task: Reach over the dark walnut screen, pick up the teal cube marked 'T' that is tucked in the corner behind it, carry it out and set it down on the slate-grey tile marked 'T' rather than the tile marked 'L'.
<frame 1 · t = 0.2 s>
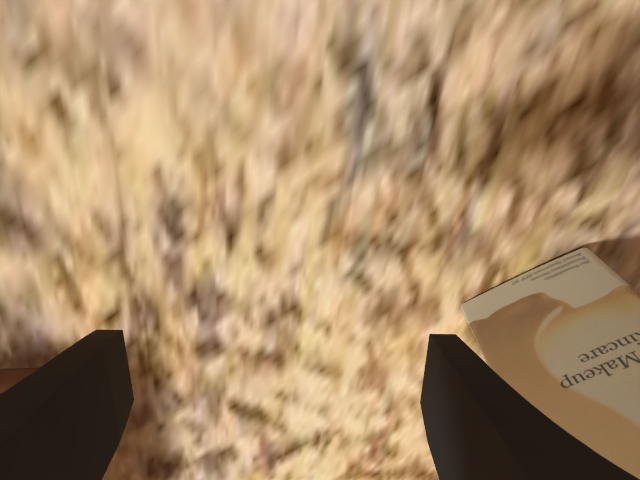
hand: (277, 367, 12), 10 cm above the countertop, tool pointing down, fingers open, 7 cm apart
skincare box: (530, 307, 23), on the countertop
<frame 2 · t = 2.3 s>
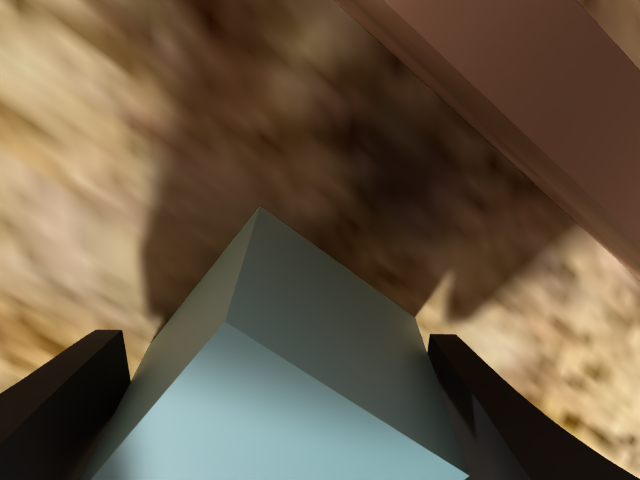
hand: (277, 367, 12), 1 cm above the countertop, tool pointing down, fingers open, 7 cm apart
walnut screen: (251, 311, 13), on the countertop
letter cube: (281, 328, 13), on the countertop, touching gripper
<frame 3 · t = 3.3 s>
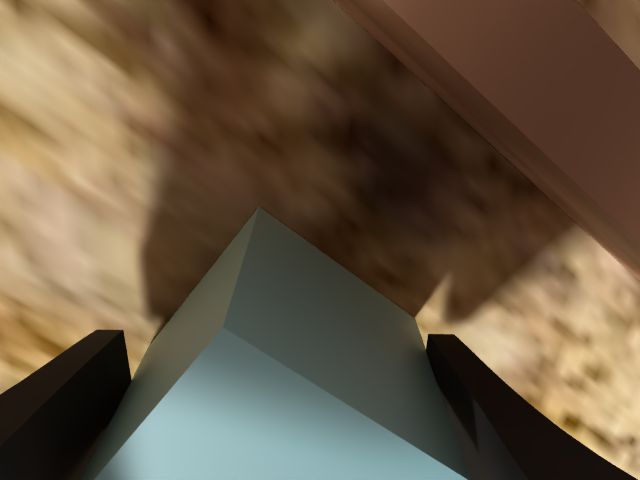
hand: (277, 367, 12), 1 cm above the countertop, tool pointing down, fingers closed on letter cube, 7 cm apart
walnut screen: (250, 312, 13), on the countertop
letter cube: (280, 332, 13), on the countertop, touching gripper
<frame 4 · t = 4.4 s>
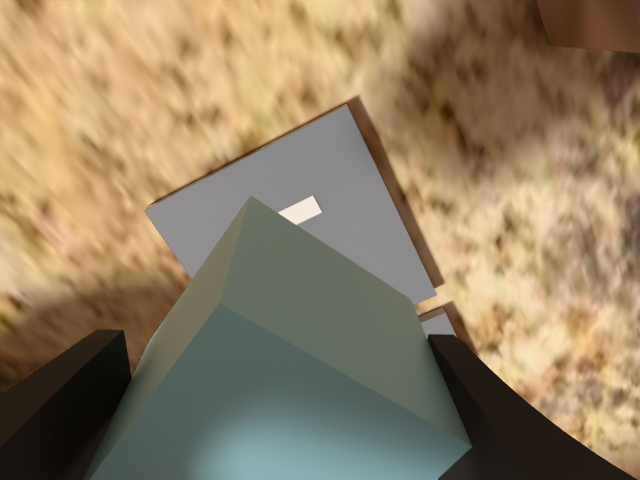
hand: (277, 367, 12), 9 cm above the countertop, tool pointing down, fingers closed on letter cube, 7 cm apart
letter cube: (279, 320, 13), point 8 cm above the countertop, touching gripper
tile T: (297, 249, 21), on the countertop
tile L: (391, 410, 24), on the countertop
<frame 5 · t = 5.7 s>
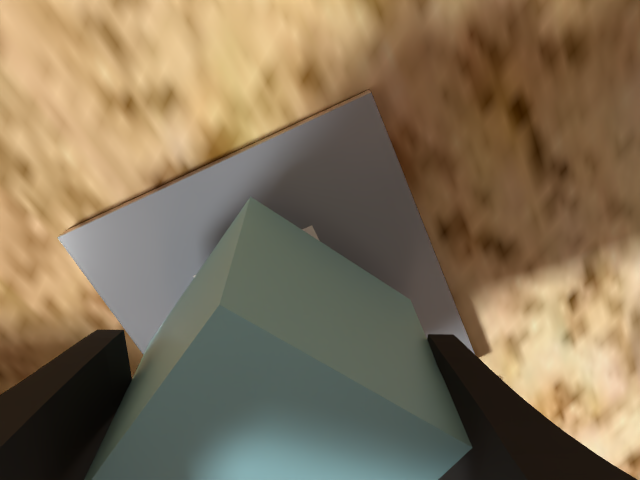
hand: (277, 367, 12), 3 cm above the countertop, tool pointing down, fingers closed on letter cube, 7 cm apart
letter cube: (279, 320, 13), point 1 cm above the countertop, touching gripper
tile T: (284, 299, 14), on the countertop
when the fingers open (3 cm above the countertop, at t = 6.5 s): letter cube stays where it is, resting on tile T.
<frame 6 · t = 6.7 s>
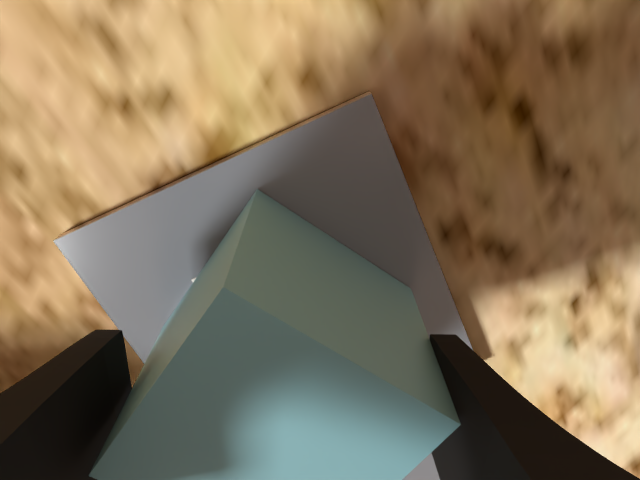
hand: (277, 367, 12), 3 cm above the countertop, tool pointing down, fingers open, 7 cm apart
letter cube: (285, 307, 14), point 1 cm above the countertop, touching gripper, tile T
tile T: (284, 303, 14), on the countertop
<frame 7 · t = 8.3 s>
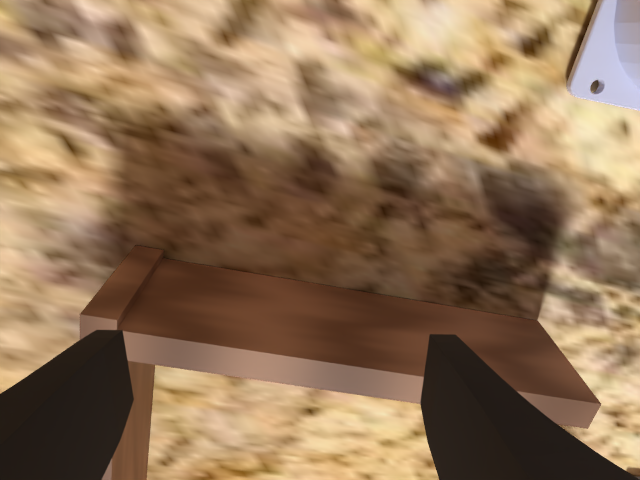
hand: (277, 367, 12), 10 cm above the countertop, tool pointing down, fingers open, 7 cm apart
walnut screen: (316, 424, 25), on the countertop
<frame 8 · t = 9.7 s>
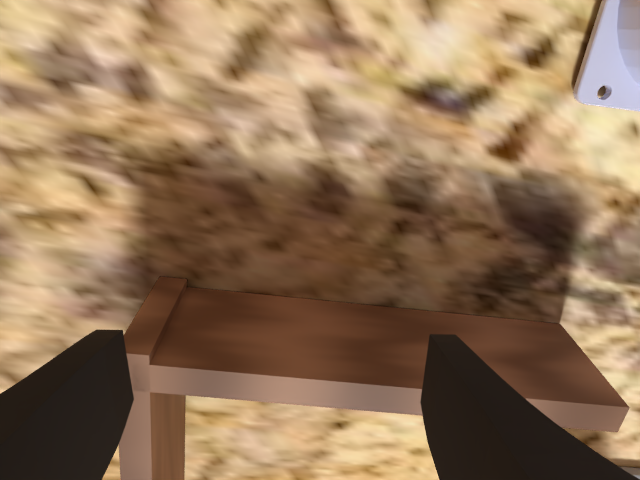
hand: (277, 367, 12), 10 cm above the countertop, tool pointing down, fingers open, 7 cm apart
walnut screen: (346, 437, 26), on the countertop
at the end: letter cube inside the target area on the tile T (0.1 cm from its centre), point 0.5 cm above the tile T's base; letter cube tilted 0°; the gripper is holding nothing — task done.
